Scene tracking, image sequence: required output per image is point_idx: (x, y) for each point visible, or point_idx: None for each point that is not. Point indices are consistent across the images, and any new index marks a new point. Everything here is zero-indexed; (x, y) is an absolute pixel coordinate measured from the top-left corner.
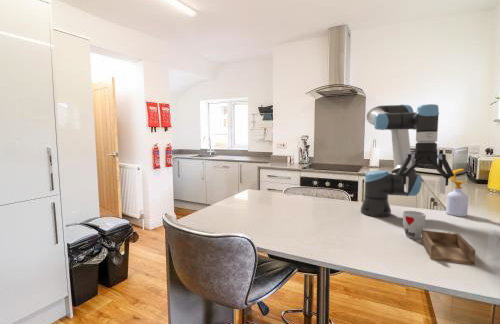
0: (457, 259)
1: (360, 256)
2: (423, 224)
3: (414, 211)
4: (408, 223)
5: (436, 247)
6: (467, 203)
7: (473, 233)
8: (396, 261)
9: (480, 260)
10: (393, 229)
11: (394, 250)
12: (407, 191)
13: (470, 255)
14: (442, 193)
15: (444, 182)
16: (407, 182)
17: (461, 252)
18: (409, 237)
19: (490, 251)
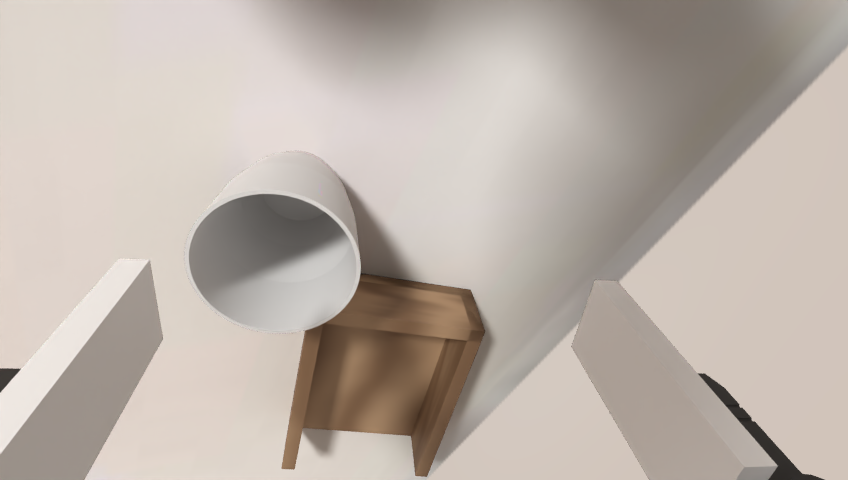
0: (374, 429)
1: None
2: (336, 273)
3: (301, 199)
4: (237, 272)
5: (348, 349)
6: None
7: (713, 66)
8: (155, 454)
9: (467, 392)
10: (196, 50)
11: (159, 375)
12: (149, 348)
13: (414, 448)
14: (576, 337)
15: (659, 475)
16: (72, 469)
17: (426, 376)
18: (271, 211)
19: (572, 312)
